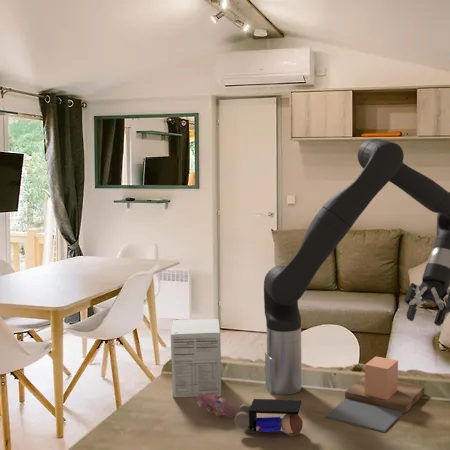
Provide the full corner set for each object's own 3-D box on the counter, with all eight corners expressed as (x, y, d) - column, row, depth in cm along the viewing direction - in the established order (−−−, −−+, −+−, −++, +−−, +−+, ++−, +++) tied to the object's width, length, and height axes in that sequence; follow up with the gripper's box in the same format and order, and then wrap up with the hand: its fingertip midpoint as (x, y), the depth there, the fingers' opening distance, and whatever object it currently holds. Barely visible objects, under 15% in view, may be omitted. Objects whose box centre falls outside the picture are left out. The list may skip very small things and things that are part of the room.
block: (375, 385, 169) (375, 356, 168) (397, 390, 166) (398, 360, 165) (364, 394, 164) (365, 364, 163) (387, 399, 160) (387, 369, 159)
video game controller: (199, 415, 162) (190, 395, 159) (210, 402, 165) (201, 383, 162) (228, 427, 156) (219, 406, 152) (239, 413, 158) (230, 393, 155)
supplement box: (222, 396, 170) (220, 332, 167) (172, 398, 169) (169, 334, 167) (220, 377, 183) (219, 318, 180) (174, 379, 182) (172, 319, 180)
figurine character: (236, 442, 147) (302, 440, 144) (232, 411, 146) (298, 408, 143) (242, 429, 154) (305, 427, 150) (237, 398, 153) (301, 396, 150)
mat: (346, 399, 166) (346, 398, 166) (403, 413, 157) (403, 411, 157) (325, 417, 156) (325, 415, 156) (384, 432, 147) (384, 430, 147)
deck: (366, 381, 177) (366, 374, 177) (424, 393, 168) (424, 386, 168) (345, 399, 166) (345, 391, 166) (405, 413, 157) (405, 405, 157)
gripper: (411, 259, 180) (393, 313, 176) (457, 264, 169) (439, 321, 165) (425, 270, 185) (408, 323, 180) (470, 275, 173) (453, 331, 169)
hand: (423, 322), depth 173 cm, fingers open, 8 cm apart
